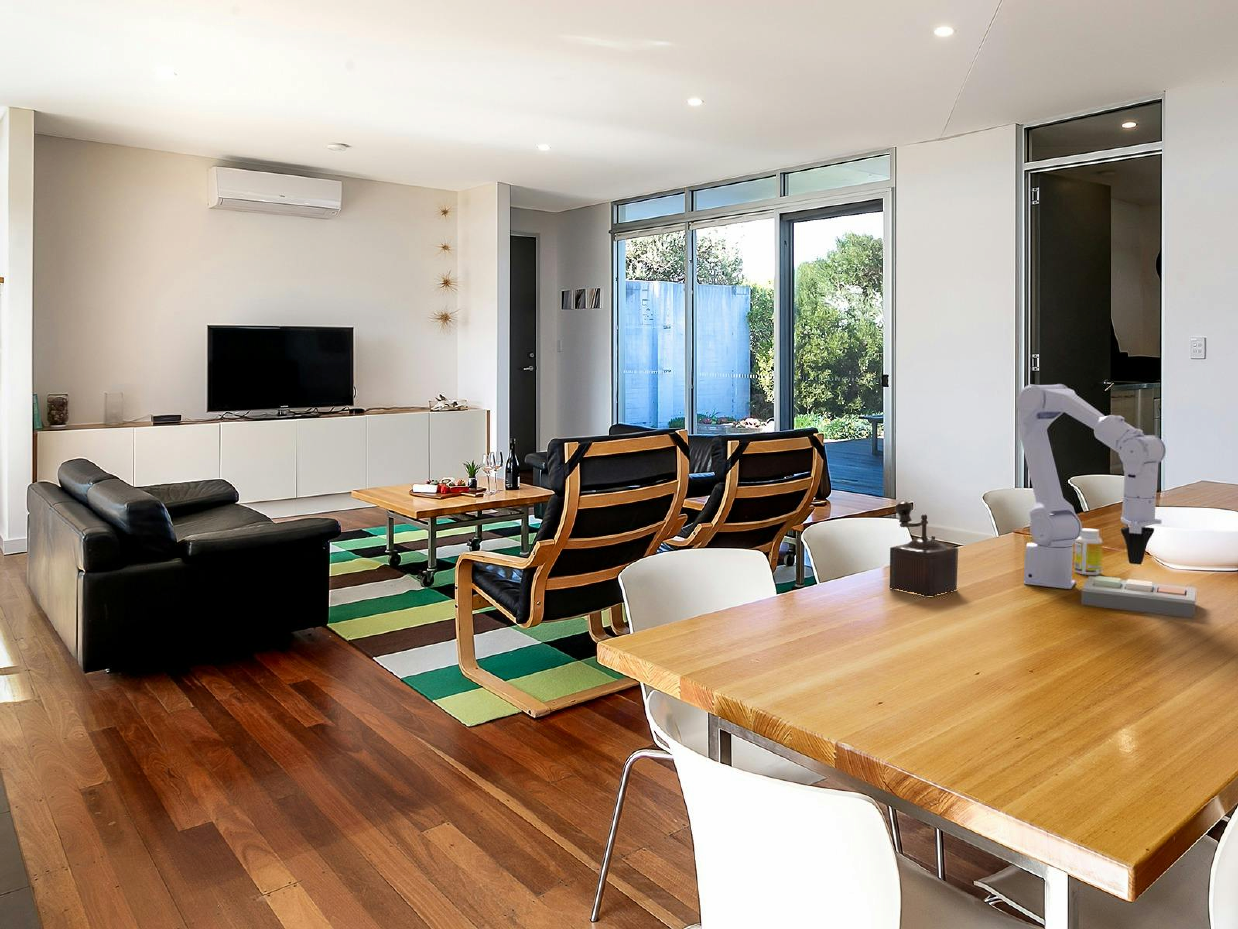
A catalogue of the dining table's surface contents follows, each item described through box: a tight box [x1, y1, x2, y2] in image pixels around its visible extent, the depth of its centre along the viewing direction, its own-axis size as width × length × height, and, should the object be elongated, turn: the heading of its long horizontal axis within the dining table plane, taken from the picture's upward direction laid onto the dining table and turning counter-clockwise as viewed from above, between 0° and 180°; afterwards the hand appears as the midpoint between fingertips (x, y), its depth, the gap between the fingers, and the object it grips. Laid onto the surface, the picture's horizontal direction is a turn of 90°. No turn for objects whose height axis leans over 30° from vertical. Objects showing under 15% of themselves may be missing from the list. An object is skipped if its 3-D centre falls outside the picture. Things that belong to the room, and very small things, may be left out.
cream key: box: [1126, 578, 1154, 592], centre depth 182 cm, size 4×4×2 cm
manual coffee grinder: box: [889, 501, 959, 597], centre depth 197 cm, size 16×11×18 cm
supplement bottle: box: [1074, 527, 1103, 576], centre depth 210 cm, size 6×6×10 cm
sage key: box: [1094, 575, 1122, 588], centre depth 185 cm, size 4×4×2 cm
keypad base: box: [1080, 576, 1197, 619], centre depth 182 cm, size 19×12×3 cm, turn 57°
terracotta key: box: [1158, 586, 1185, 596], centre depth 179 cm, size 4×4×2 cm
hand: (1135, 563), depth 182 cm, fingers closed
